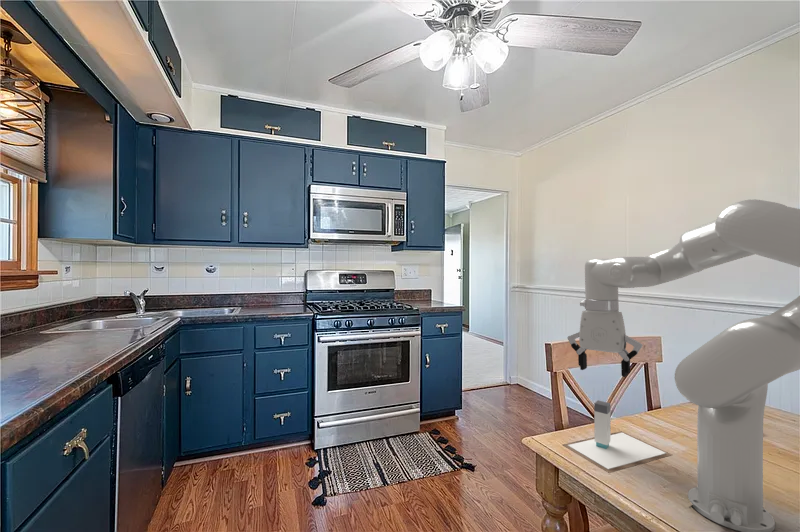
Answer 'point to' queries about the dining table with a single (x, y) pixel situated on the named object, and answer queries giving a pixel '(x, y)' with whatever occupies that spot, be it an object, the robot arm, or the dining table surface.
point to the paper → (617, 451)
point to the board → (620, 466)
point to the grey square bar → (602, 424)
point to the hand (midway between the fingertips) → (603, 372)
